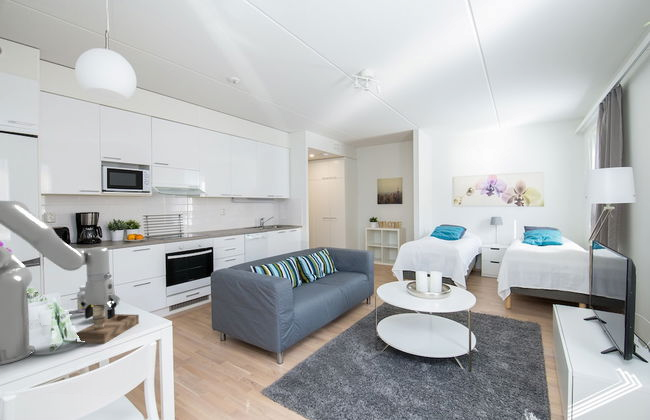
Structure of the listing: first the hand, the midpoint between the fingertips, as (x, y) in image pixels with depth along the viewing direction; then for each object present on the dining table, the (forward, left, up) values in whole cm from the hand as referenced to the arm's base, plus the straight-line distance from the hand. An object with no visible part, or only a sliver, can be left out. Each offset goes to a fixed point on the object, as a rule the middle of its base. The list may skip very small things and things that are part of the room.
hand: (100, 317), depth 125 cm
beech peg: (0, 0, -5) cm, 5 cm away
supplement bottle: (+29, +33, -9) cm, 45 cm away
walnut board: (+5, 0, -9) cm, 10 cm away
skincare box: (+20, +14, -9) cm, 26 cm away
